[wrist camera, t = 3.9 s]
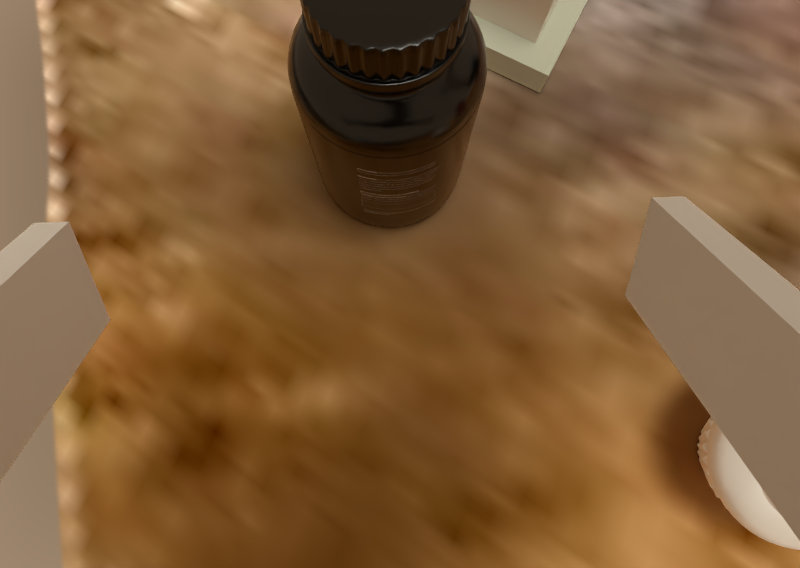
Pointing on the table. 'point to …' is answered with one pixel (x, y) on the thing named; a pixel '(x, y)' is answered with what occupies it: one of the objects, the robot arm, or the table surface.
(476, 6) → the well
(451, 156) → the supplement bottle
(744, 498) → the white ribbed round lump
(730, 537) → the table surface
